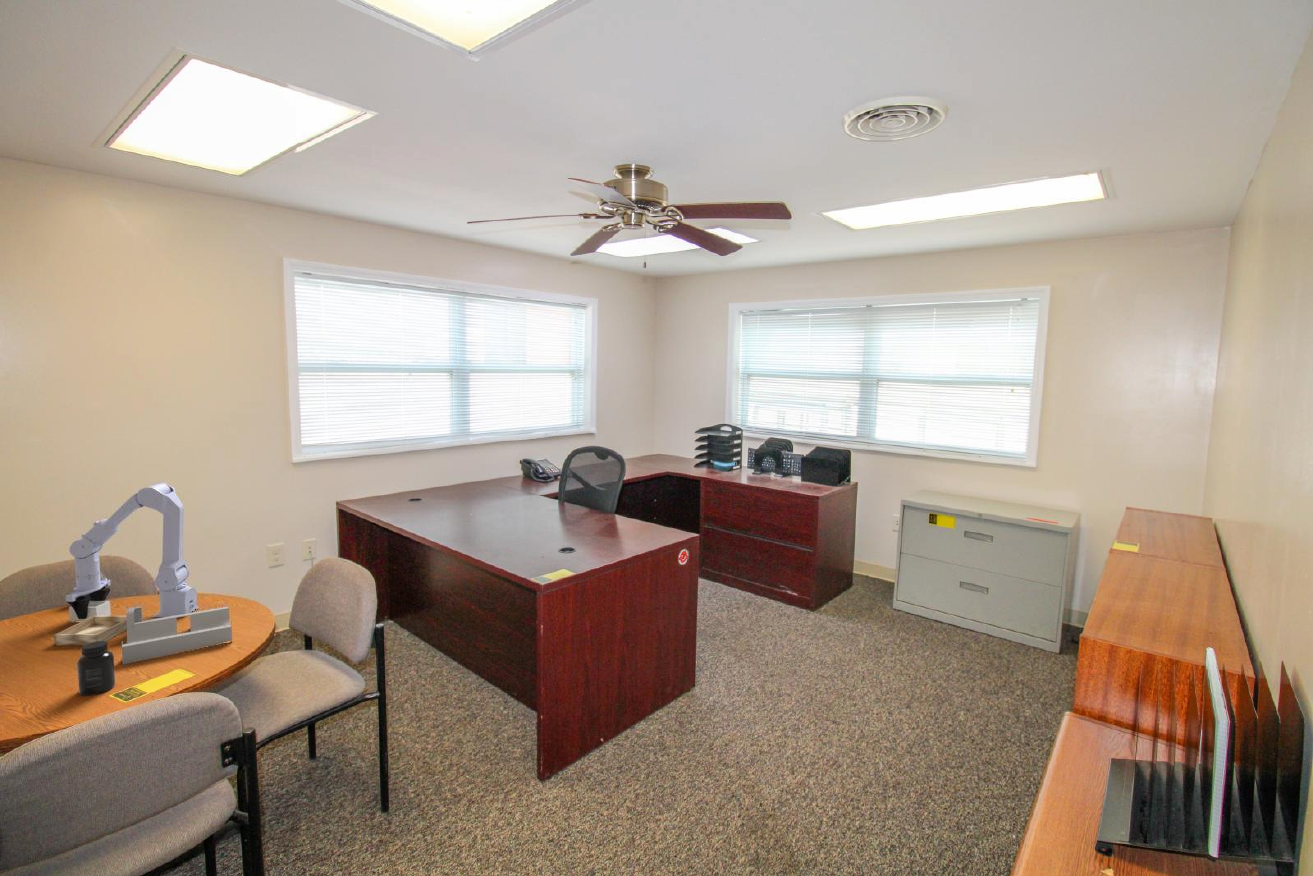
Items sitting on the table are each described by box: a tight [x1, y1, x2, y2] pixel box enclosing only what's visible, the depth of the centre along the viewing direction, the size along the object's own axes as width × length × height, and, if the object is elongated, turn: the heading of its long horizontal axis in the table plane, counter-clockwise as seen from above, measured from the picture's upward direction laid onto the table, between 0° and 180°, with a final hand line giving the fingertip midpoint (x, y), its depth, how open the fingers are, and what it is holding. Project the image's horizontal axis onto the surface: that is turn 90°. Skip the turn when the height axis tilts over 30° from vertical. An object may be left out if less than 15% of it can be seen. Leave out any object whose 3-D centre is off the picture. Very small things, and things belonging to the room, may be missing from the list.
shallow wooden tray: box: [53, 615, 127, 646], centre depth 182 cm, size 12×14×3 cm
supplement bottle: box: [76, 641, 116, 696], centre depth 152 cm, size 7×7×12 cm
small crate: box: [68, 600, 112, 622], centre depth 193 cm, size 8×5×5 cm
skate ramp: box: [121, 601, 233, 665], centre depth 182 cm, size 25×23×10 cm
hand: (90, 614), depth 193 cm, fingers closed on small crate, 5 cm apart
